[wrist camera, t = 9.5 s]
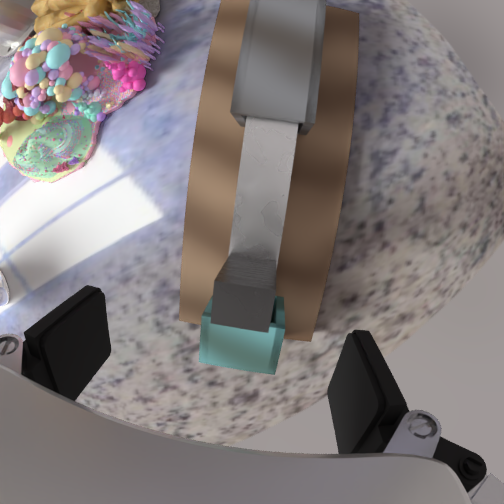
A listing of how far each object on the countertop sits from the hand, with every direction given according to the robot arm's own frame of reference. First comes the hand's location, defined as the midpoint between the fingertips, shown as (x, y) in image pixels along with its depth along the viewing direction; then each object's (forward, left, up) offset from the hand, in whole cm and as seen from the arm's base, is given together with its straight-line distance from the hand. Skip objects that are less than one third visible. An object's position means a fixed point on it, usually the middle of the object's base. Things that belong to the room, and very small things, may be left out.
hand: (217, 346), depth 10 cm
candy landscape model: (-16, -22, -15) cm, 32 cm away
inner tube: (-4, 0, -12) cm, 13 cm away
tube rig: (-8, 0, -15) cm, 17 cm away
